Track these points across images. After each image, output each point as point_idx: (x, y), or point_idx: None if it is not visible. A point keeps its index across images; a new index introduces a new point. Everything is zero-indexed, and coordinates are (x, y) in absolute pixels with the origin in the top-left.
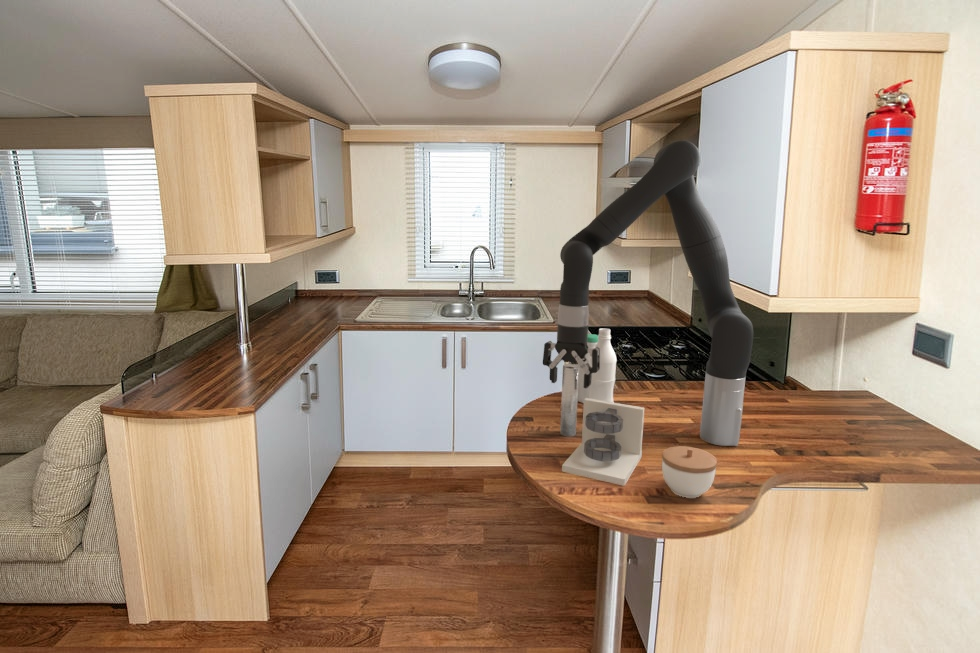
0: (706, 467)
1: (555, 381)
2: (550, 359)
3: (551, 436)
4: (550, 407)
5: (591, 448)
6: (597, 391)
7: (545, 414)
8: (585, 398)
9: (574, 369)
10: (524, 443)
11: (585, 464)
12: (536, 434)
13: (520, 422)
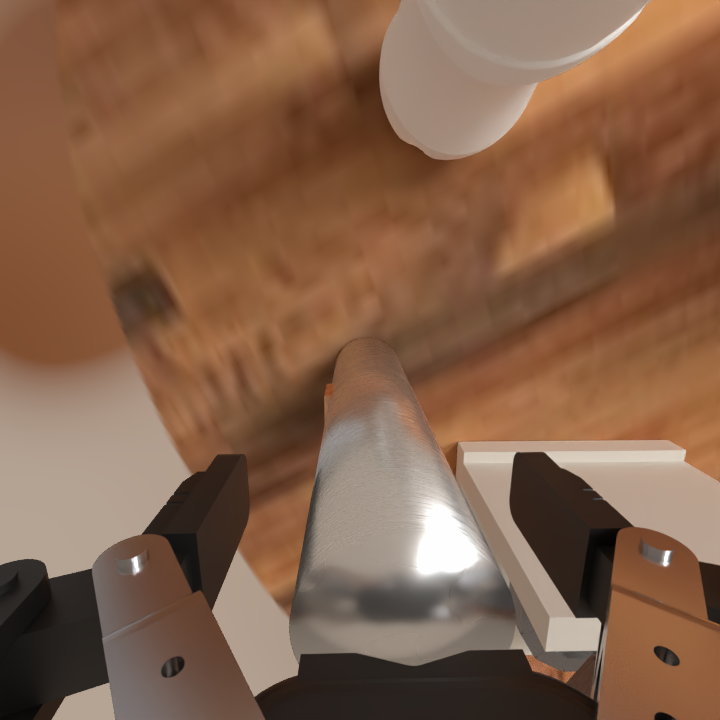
0: None
1: (245, 484)
2: (13, 618)
3: (319, 424)
4: (160, 80)
5: (554, 657)
6: (485, 93)
7: (187, 199)
8: (550, 630)
9: None
10: (259, 523)
11: (515, 623)
12: (260, 434)
13: (141, 352)
